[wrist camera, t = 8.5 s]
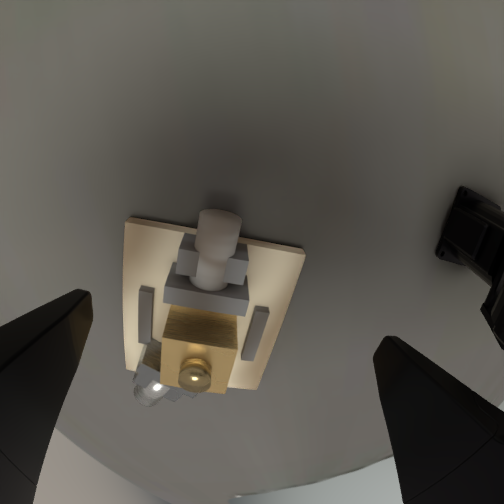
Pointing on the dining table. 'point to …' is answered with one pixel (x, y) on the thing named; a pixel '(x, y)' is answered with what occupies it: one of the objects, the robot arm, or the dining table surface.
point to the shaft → (153, 378)
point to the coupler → (198, 349)
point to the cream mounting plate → (207, 284)
